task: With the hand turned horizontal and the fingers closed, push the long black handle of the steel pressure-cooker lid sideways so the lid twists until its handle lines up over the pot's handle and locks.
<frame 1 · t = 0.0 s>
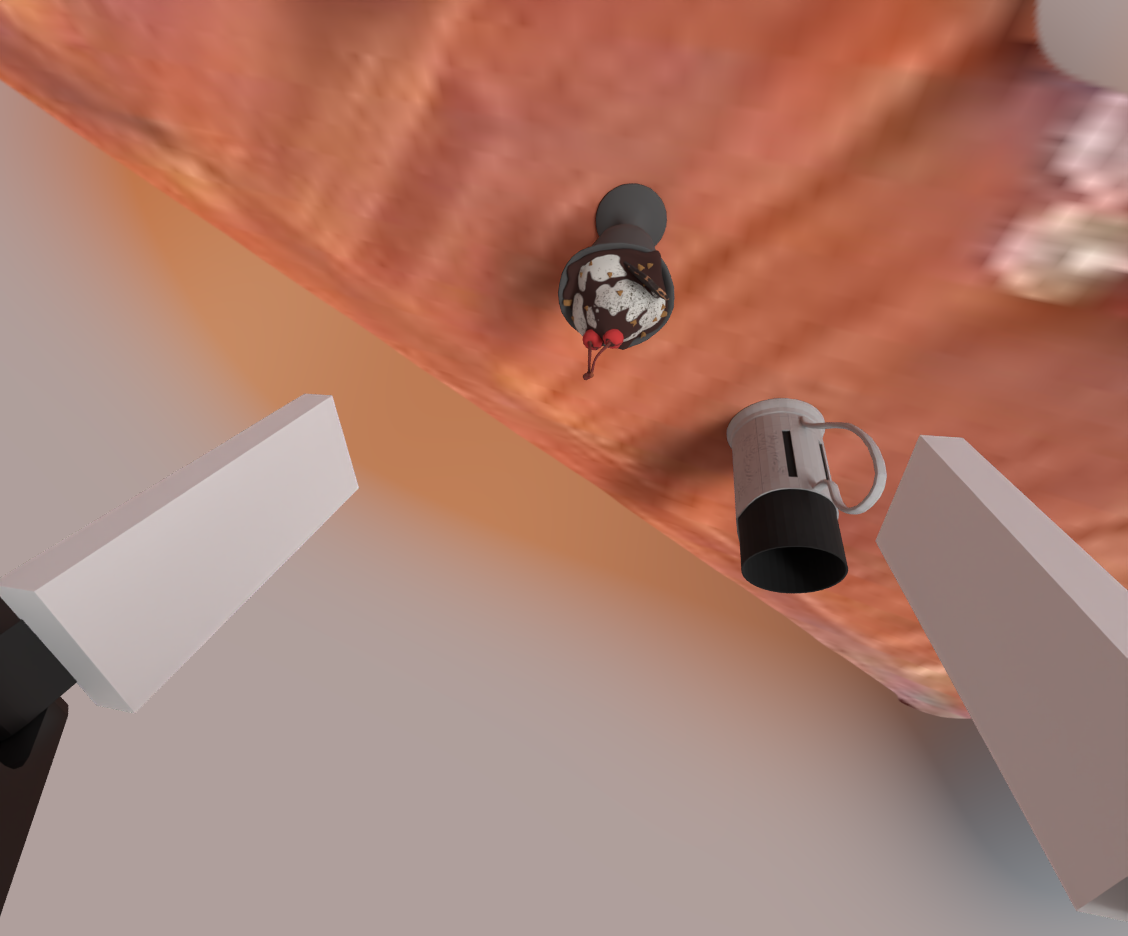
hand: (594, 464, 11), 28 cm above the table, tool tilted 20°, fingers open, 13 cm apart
sundae: (631, 220, 34), on the table
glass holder: (792, 412, 44), on the table
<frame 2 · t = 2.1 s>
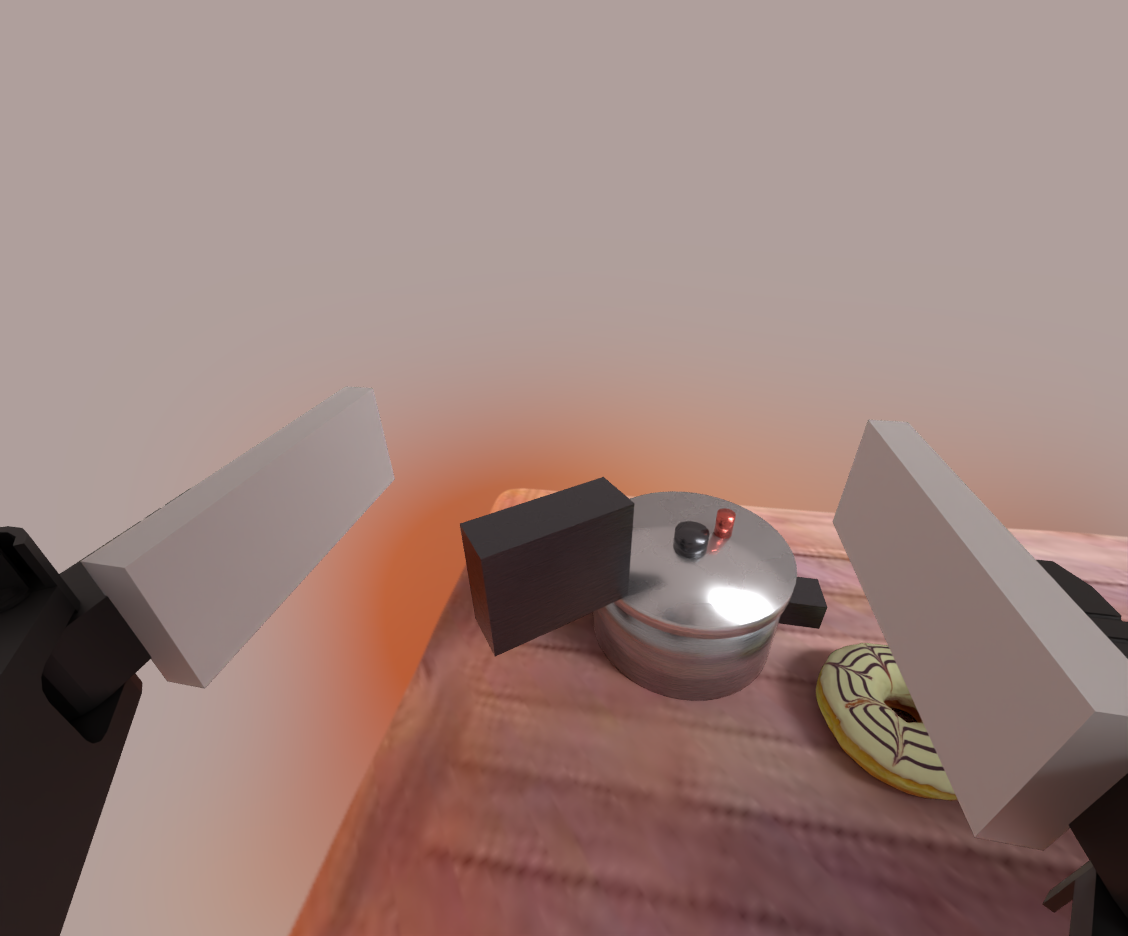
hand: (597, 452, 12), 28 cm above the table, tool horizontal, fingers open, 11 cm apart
pot: (678, 621, 42), on the table
lid: (644, 532, 34), point 12 cm above the table, hinge at 40.0°
decorated donut: (893, 732, 34), on the table
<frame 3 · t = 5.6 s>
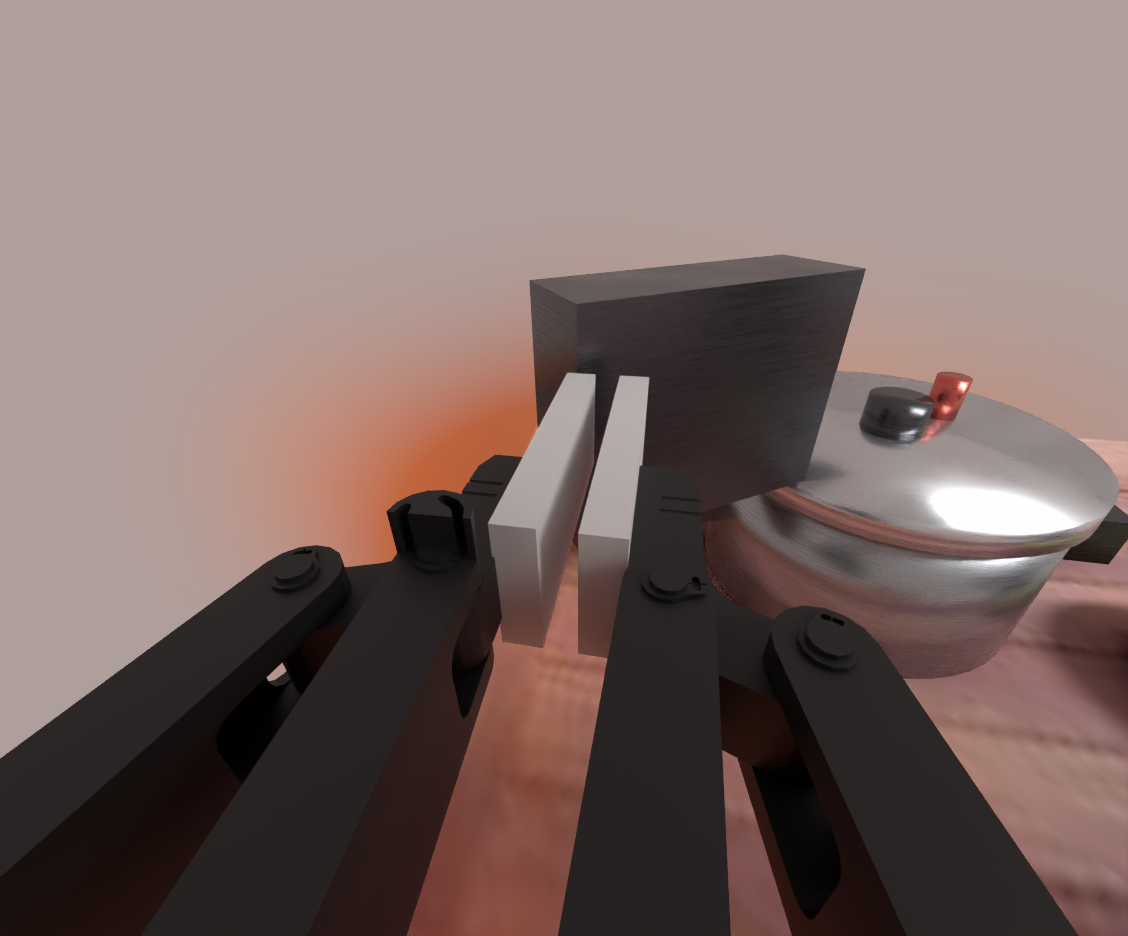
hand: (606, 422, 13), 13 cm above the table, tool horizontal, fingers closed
pot: (840, 561, 28), on the table
lid: (837, 376, 20), point 12 cm above the table, hinge at 35.3°, touching gripper
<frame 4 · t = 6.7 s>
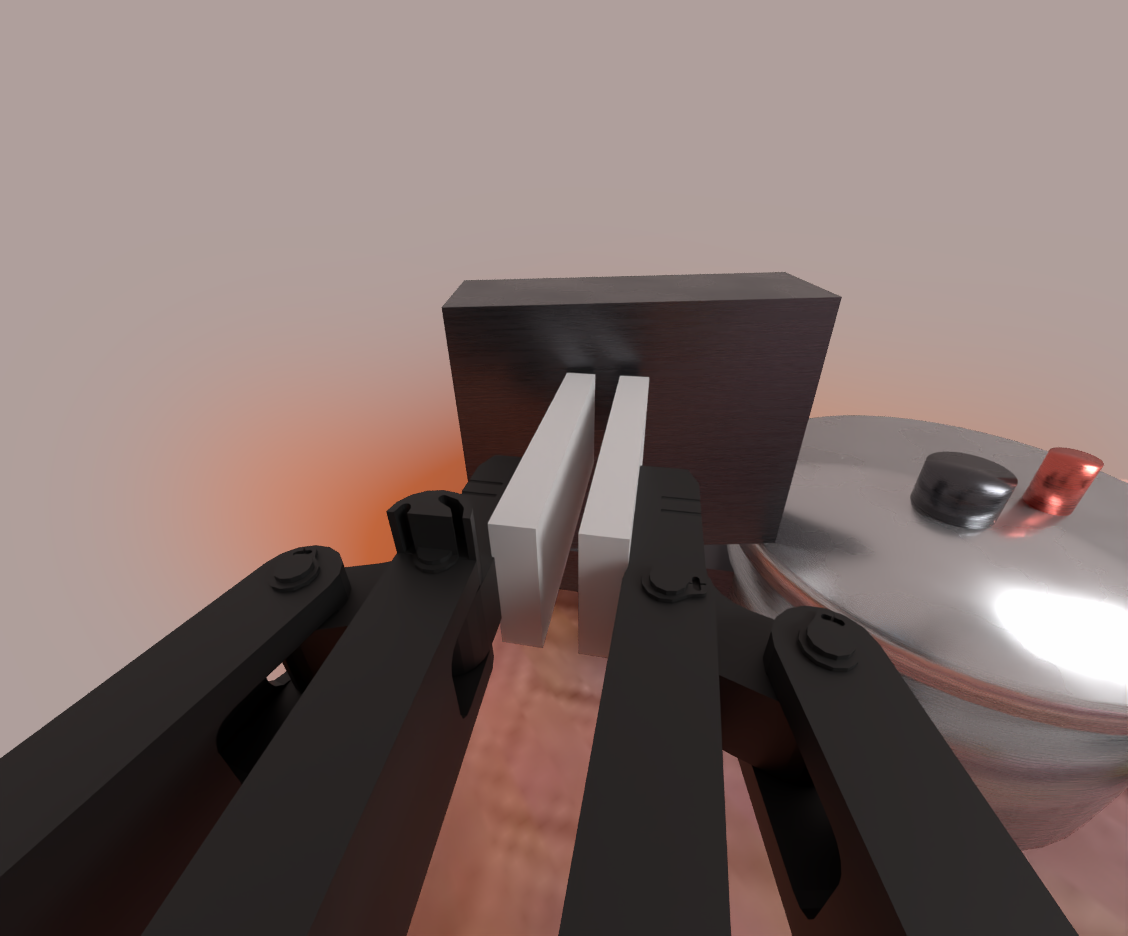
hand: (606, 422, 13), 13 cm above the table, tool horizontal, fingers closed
pot: (877, 655, 22), on the table
lid: (851, 427, 16), point 12 cm above the table, hinge at 13.2°, touching gripper
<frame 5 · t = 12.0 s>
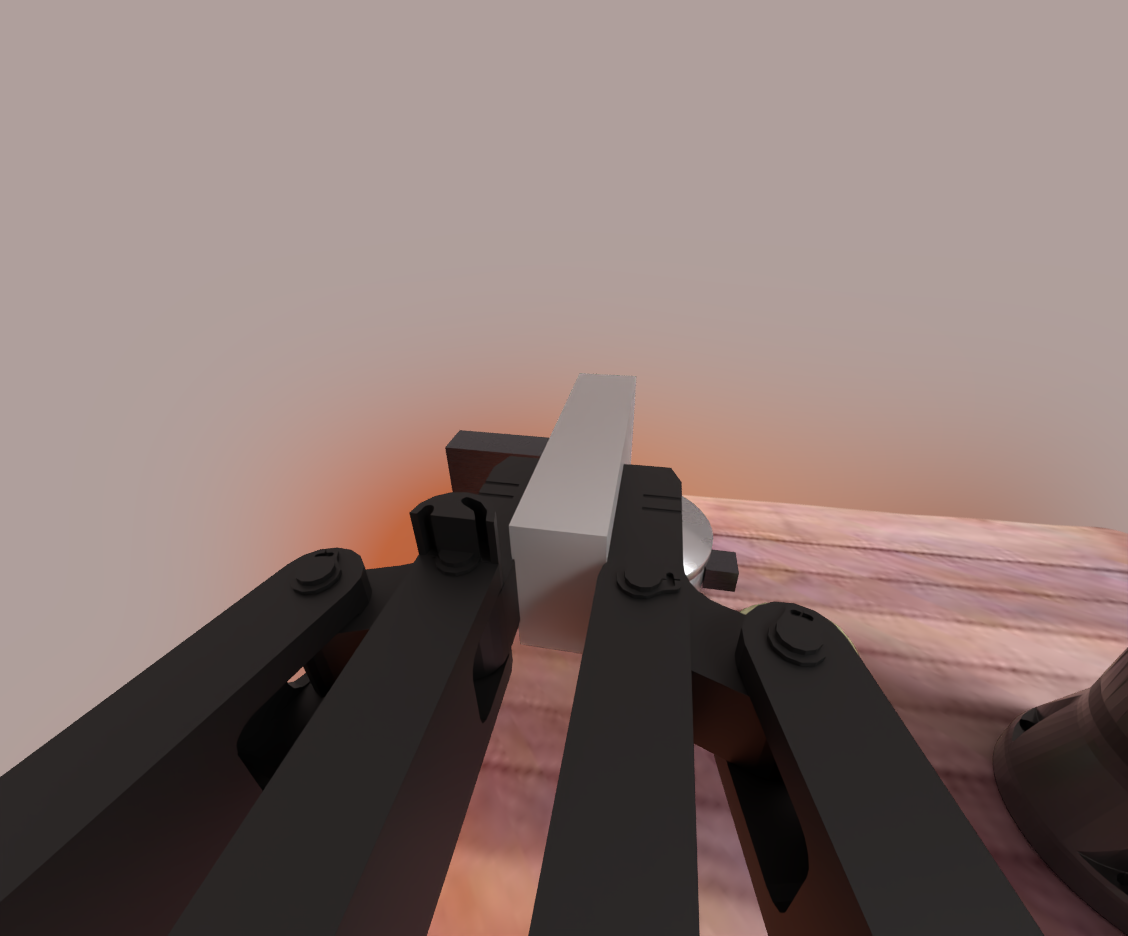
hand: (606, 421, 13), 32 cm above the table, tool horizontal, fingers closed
pot: (625, 588, 51), on the table
lid: (582, 492, 46), point 12 cm above the table, hinge at -0.8°
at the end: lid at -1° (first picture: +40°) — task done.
